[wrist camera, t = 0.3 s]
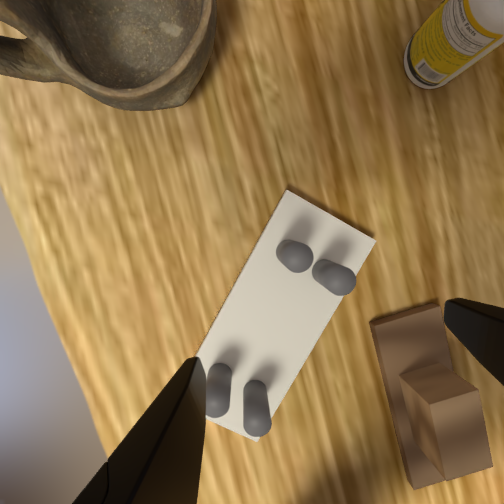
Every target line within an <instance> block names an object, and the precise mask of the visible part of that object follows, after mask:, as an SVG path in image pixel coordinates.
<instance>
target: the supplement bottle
mask: <svg viewBox="0 0 504 504" xmlns="http://www.w3.org/2000/svg"><path fill="white" fill-rule="evenodd" d="M503 43H504V0H444V1H443V2H442V3H441V4H440V5H439V6H438V8H437V9H436V10H435V11H434V12H433V13H432V14H431V16H430V17H429V18H428V19H427V20H426V21H425V22H424V24H423V25H422V26H421V27H420V28H419V29H418V30H417V32H416V33H415V34H414V35H413V37H412V38H411V39H410V41H409V43H408V45H407V47H406V50H405V54H404V67H405V71H406V73H407V76H408V77H409V79H410V80H411V81H412V82H413V83H414V84H415V85H417V86H419V87H421V88H425V89H434V88H438V87H441V86H443V85H445V84H447V83H448V82H450V81H451V80H453V79H454V78H456V77H457V76H458V75H460V74H461V73H463V72H464V71H465V70H467V69H468V68H470V67H471V66H472V65H474V64H475V63H477V62H478V61H479V60H481V59H482V58H484V57H485V56H486V55H488V54H489V53H491V52H492V51H493V50H495V49H496V48H498V47H499V46H500V45H502V44H503Z"/></svg>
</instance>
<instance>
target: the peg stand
mask: <svg viewBox="0 0 504 504" xmlns="http://www.w3.org/2000/svg"><path fill="white" fill-rule="evenodd" d="M375 242H376V240H374V239H372V238H370V237H369V236H367V235H365V234H363V233H362V232H360V231H358V230H356V229H355V228H353V227H351V226H349V225H348V224H346V223H344V222H343V221H341V220H339V219H337V218H336V217H334V216H332V215H330V214H329V213H327V212H325V211H323V210H322V209H320V208H318V207H316V206H315V205H313V204H311V203H309V202H308V201H306V200H304V199H302V198H301V197H299V196H297V195H295V194H294V193H292V192H290V191H288V190H286V191H285V192H284V194H283V196H282V197H281V199H280V201H279V203H278V205H277V207H276V208H275V210H274V212H273V214H272V216H271V218H270V219H269V221H268V223H267V225H266V227H265V229H264V230H263V232H262V234H261V236H260V238H259V240H258V241H257V243H256V245H255V247H254V249H253V251H252V252H251V254H250V256H249V258H248V260H247V262H246V263H245V265H244V267H243V269H242V271H241V273H240V274H239V276H238V278H237V280H236V282H235V284H234V285H233V287H232V289H231V291H230V293H229V295H228V296H227V298H226V300H225V302H224V304H223V306H222V307H221V309H220V311H219V313H218V315H217V317H216V318H215V320H214V322H213V324H212V326H211V328H210V329H209V331H208V333H207V335H206V337H205V339H204V340H203V342H202V344H201V346H200V348H199V350H198V351H197V353H196V355H195V357H196V356H197V357H199V358H200V360H201V363H202V365H203V368H204V371H205V374H206V419H207V420H209V421H212V422H214V423H216V424H218V425H221V426H223V427H225V428H227V429H229V430H232V431H234V432H236V433H238V434H240V435H243V436H245V437H247V438H249V439H251V440H254V441H256V442H258V440H259V438H260V437H261V436H263V435H265V434H267V433H268V432H269V430H270V429H271V425H272V423H271V418H272V416H273V415H274V413H275V411H276V410H277V408H278V406H279V404H280V403H281V401H282V399H283V398H284V396H285V394H286V393H287V391H288V389H289V388H290V386H291V384H292V382H293V381H294V379H295V377H296V376H297V374H298V372H299V371H300V369H301V367H302V366H303V364H304V362H305V361H306V359H307V357H308V355H309V354H310V352H311V350H312V349H313V347H314V345H315V344H316V342H317V340H318V339H319V337H320V335H321V334H322V332H323V330H324V328H325V327H326V325H327V323H328V322H329V320H330V318H331V317H332V315H333V313H334V312H335V310H336V308H337V307H338V305H339V303H340V301H341V300H342V298H343V296H344V295H347V294H349V293H350V292H351V291H352V290H353V289H354V287H355V285H356V274H357V273H358V271H359V269H360V268H361V266H362V264H363V263H364V261H365V259H366V258H367V256H368V254H369V253H370V251H371V249H372V247H373V246H374V244H375Z"/></svg>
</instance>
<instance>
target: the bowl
mask: <svg viewBox="0 0 504 504" xmlns="http://www.w3.org/2000/svg"><path fill="white" fill-rule="evenodd" d="M216 20H217V5H216V0H0V21H2V22H5V23H6V24H8V25H10V26H12V27H14V28H15V29H17V30H18V31H20V32H21V33H22V34H24V35H25V36H26V37H28V38H26V39H15V38H10V37H4V36H0V74H1V75H5V76H10V77H15V78H20V79H25V80H32V81H38V82H61V83H66V84H70V85H72V86H74V87H77V88H78V89H80V90H82V91H83V92H85V93H86V94H88V95H90V96H91V97H93V98H95V99H97V100H98V101H100V102H102V103H104V104H106V105H109V106H111V107H114V108H117V109H121V110H130V111H151V110H160V109H167V108H174V107H178V106H181V105H183V104H184V103H185V102H186V101H187V100H188V98H189V97H190V95H191V93H192V91H193V90H194V88H195V87H196V85H197V84H198V82H199V80H200V78H201V77H202V75H203V73H204V71H205V69H206V66H207V64H208V62H209V59H210V57H211V54H212V51H213V46H214V39H215V32H216Z"/></svg>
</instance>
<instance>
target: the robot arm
mask: <svg viewBox="0 0 504 504" xmlns="http://www.w3.org/2000/svg"><path fill="white" fill-rule="evenodd" d="M444 322H445V324H446V326H447V327H448V328H449V329H450V331H451V332H452V333H453V334H454V335H455V336H456V337H457V338H458V339H459V340H460V342H461V343H462V344H463V345H464V346H465V347H466V348H467V349H468V350H469V352H470V353H471V354H472V355H473V356H474V357H475V358H476V359H477V360H478V361H479V362H480V363H481V364H482V365H483V366H484V367H485V368H486V369H487V370H488V371H489V372H490V373H491V374H492V375H493V376H494V377H495V378H496V379H497V380H498V381H499V382H500V383H501V384H502V385H504V308H501V307H497V306H493V305H489V304H484V303H480V302H476V301H472V300H467V299H463V298H454V299H450V300H447V301H446V302H445V307H444ZM205 426H206V374H205V371H204V368H203V365H202V363H201V360H200V358H199V357H197V356H196V357H192V358H188V359H186V361H185V362H184V363H183V364H182V366H181V367H180V368H179V369H178V371H177V372H176V373H175V374H174V376H173V377H172V378H171V380H170V381H169V382H168V383H167V385H166V386H165V387H164V388H163V390H162V391H161V392H160V393H159V395H158V396H157V397H156V399H155V400H154V401H153V402H152V404H151V405H150V406H149V407H148V409H147V410H146V411H145V412H144V414H143V415H142V416H141V418H140V419H139V420H138V421H137V423H136V424H135V425H134V426H133V428H132V429H131V430H130V431H129V433H128V434H127V435H126V437H125V438H124V439H123V440H122V442H121V443H120V444H119V445H118V447H117V448H116V449H115V450H114V452H113V453H112V454H111V456H110V457H109V458H108V462H105V463H104V464H103V466H102V467H101V468H100V469H99V471H98V472H97V473H96V475H95V476H94V477H93V478H92V480H91V481H90V482H89V483H88V484H87V486H86V487H85V488H84V489H83V490H82V492H81V493H80V494H79V495H78V497H77V498H76V499H75V500H74V502H73V503H72V504H197V497H198V488H199V480H200V471H201V462H202V454H203V445H204V437H205Z"/></svg>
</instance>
